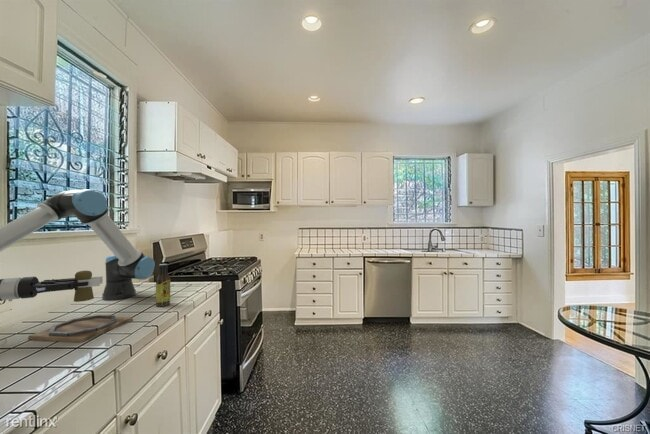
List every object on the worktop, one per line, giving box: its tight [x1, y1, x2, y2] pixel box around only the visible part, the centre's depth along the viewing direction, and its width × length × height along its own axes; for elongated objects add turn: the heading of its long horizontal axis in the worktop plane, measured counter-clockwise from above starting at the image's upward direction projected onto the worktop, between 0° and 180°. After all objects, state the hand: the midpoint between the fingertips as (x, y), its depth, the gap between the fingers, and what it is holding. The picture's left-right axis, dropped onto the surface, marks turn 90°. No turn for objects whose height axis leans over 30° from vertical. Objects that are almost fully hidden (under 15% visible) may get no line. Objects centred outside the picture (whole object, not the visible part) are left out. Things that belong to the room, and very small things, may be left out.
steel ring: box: [49, 314, 116, 336], centre depth 114 cm, size 19×19×1 cm
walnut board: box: [27, 314, 133, 343], centre depth 114 cm, size 22×22×1 cm
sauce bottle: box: [155, 263, 171, 307], centre depth 145 cm, size 6×6×20 cm
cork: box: [73, 270, 95, 303], centre depth 114 cm, size 6×6×11 cm
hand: (100, 281), depth 117 cm, fingers closed on cork, 4 cm apart
